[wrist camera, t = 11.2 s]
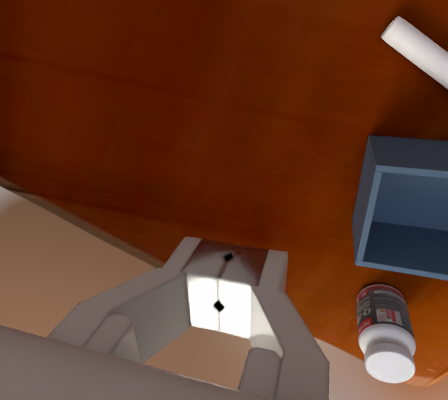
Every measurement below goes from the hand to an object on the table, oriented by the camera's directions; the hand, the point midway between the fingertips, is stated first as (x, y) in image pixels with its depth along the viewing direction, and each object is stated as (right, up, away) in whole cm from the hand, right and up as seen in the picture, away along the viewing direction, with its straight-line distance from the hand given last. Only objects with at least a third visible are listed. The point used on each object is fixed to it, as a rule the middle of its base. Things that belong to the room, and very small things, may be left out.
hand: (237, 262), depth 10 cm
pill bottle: (+20, -11, +33) cm, 40 cm away
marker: (+22, +12, +21) cm, 32 cm away
